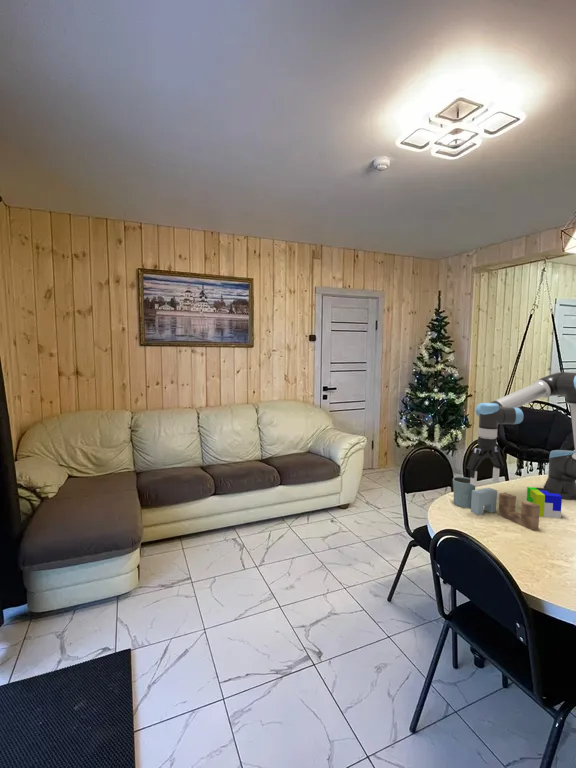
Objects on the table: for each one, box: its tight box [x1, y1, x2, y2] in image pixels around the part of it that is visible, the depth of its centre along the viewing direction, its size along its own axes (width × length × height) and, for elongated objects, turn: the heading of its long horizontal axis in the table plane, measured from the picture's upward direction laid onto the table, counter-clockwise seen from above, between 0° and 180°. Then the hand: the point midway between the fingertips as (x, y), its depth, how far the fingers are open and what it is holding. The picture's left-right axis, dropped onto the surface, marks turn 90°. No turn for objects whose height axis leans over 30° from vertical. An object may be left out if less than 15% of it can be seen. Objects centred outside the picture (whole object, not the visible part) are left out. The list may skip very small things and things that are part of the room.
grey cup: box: [452, 476, 476, 509], centre depth 181 cm, size 10×10×12 cm
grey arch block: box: [470, 487, 498, 516], centre depth 173 cm, size 11×4×10 cm, turn 111°
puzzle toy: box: [526, 486, 563, 519], centre depth 172 cm, size 10×10×10 cm
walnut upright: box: [497, 492, 540, 531], centre depth 162 cm, size 16×4×10 cm, turn 21°
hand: (484, 483), depth 172 cm, fingers open, 13 cm apart
